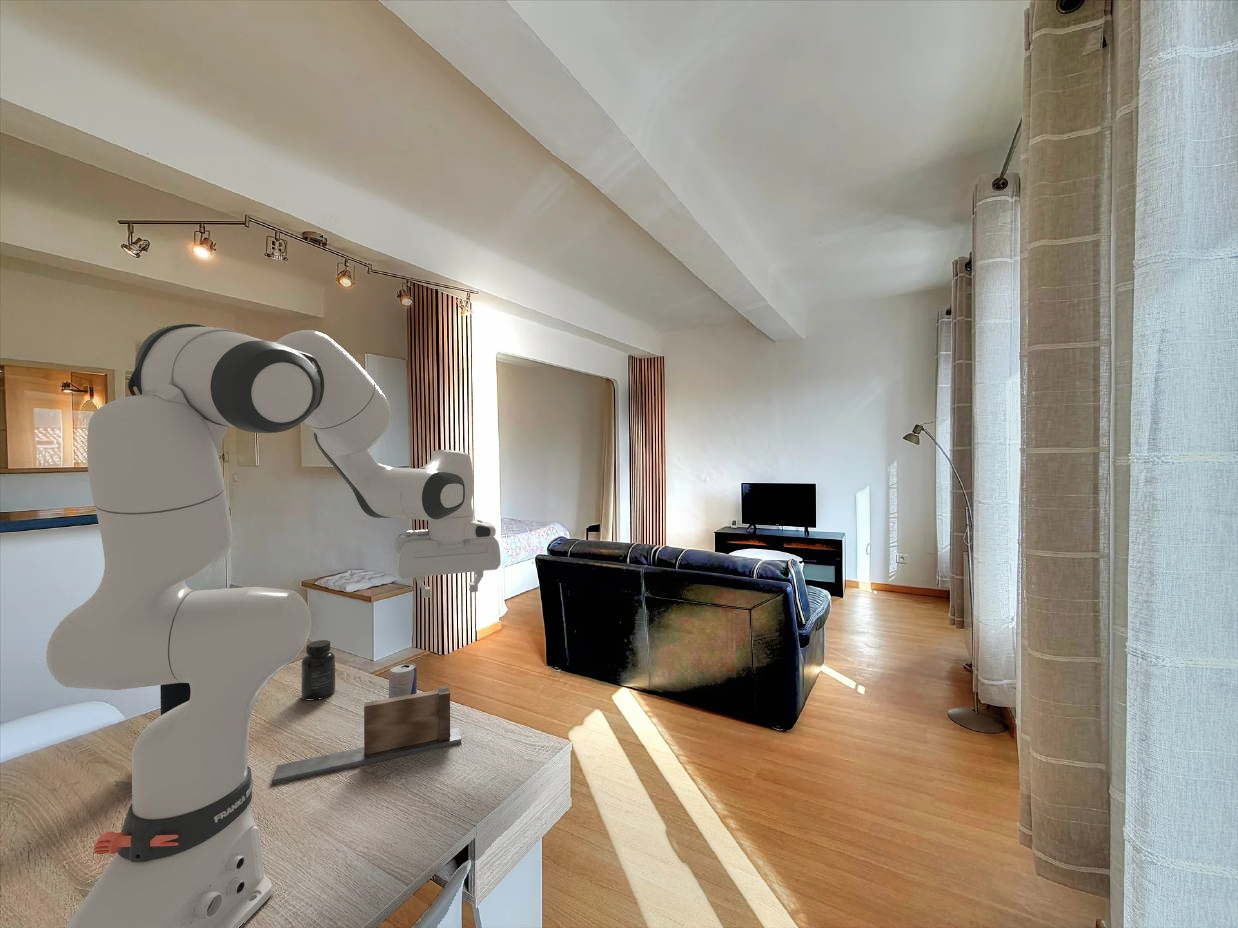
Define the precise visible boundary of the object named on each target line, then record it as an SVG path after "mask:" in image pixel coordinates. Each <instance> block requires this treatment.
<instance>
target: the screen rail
mask: <svg viewBox="0 0 1238 928" xmlns="http://www.w3.org/2000/svg"><path fill="white" fill-rule="evenodd" d="M461 736H462V735H461V732H460V727H454V728H450V739H447V740H442V741H439V739H438V740H433V741H428V742H423V743H419V744H414V745H409V746H405V747H400V748H395V749H391V750H386V751H381V752H377V753H372V754H367V755H364V746H363V747H359V748H355V749H348V750H344V751H340V752H335V753H331V754H330V753H329V754H324V755H319V756H314V757H311V758H310V757H309V758H306V759H301V760H296V761H290V762H286V763H282V764H278V765H276V767H275V770H274V773H273V775H272V778H271V786H274V785H278V784H282V783H287V782H292V781H297V780H302V779H305V778H311V777H315V776H319V775H320V776H321V775H324V774H328V773H333V772H337V771H342V770H346V769H351V768H352V769H353V768H355V767H356V768H357V767H360V766H361V767H362V766H365V765H369V764H373V763H379V762H383V761H388V760H392V759H396V758H401V757H405V756H406V757H407V756H410V755H416V754H418V753H423V752H428V751H433V750H437V749H441V748H442V749H443V748H446V747H451V746H455V745H459V744H460V745H461V744H462V737H461Z"/></svg>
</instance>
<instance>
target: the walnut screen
mask: <svg viewBox="0 0 1238 928" xmlns="http://www.w3.org/2000/svg"><path fill="white" fill-rule="evenodd" d="M363 705H364V706H363V743H364V744H363V747H364V755H367V754H372V753H377V752H381V751H386V750H391V749H395V748H400V747H405V746H409V745H414V744H419V743H423V742H428V741H433V740H438V739H439V741H442V740H447V739H450V729H451V690H450V686H449V685H448V686H444V687H438V688H437V689H434V690H429V691H424V692H417V694H411V695H406V696H400V697H394V698H389V697H388V698H384V699H383V698H382V699H379V700H373V701H367V702H366V701H365V702H364V704H363Z"/></svg>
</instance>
